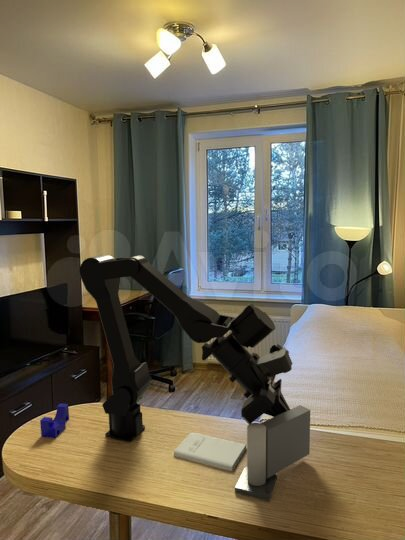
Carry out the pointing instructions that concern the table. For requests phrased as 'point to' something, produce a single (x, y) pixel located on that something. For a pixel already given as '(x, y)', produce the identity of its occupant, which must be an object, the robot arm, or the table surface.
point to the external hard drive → (210, 451)
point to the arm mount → (255, 487)
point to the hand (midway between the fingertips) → (293, 421)
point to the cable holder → (55, 422)
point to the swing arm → (277, 444)
